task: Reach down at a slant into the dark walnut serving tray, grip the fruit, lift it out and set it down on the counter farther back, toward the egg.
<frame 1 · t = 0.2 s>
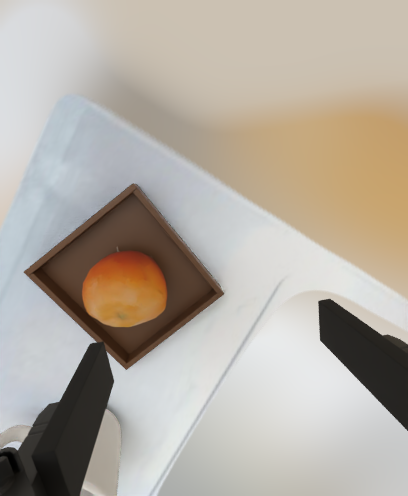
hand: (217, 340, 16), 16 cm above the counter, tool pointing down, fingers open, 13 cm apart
cup: (76, 420, 34), on the counter
fruit: (132, 277, 30), resting on tray
tray: (132, 276, 31), on the counter
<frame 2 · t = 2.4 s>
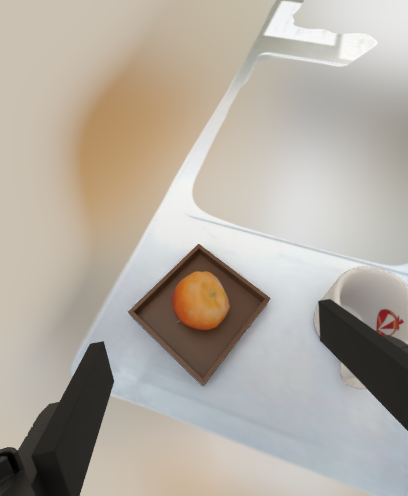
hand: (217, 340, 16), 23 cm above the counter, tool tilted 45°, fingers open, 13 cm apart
cup: (338, 339, 39), on the counter
fruit: (200, 309, 40), resting on tray
tray: (200, 309, 41), on the counter
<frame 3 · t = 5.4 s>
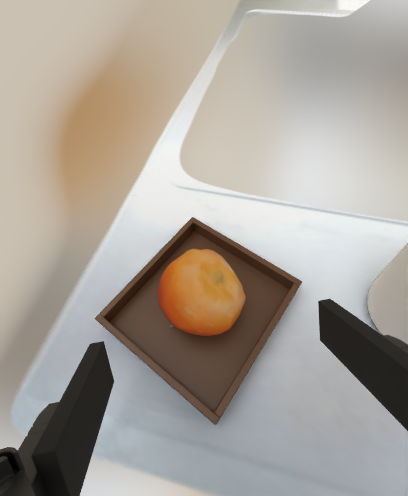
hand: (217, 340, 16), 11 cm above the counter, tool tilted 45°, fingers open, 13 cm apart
cup: (405, 333, 27), on the counter
fruit: (202, 306, 28), resting on tray
tray: (202, 307, 28), on the counter
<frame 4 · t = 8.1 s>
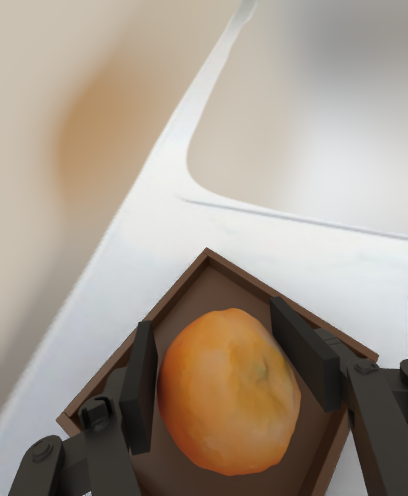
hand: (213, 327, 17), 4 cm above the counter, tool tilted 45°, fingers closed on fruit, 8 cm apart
fruit: (224, 388, 18), resting on tray, touching gripper
tray: (223, 388, 19), on the counter
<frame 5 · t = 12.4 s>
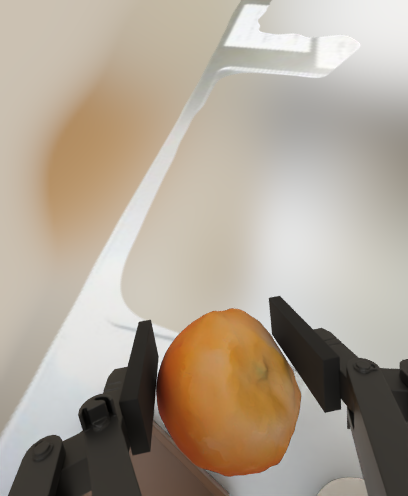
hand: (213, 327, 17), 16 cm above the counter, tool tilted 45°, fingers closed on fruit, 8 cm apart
fruit: (224, 388, 18), point 12 cm above the counter, touching gripper
when the fingers open (3 cm above the counter, at t = 16.6 s): fruit stays where it is, on the counter.
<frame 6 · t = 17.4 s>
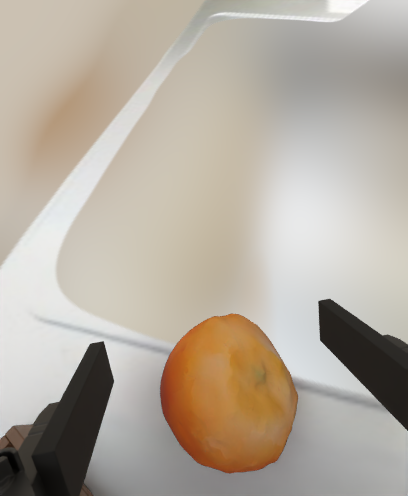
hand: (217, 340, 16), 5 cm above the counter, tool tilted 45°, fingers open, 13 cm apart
fruit: (224, 389, 19), on the counter
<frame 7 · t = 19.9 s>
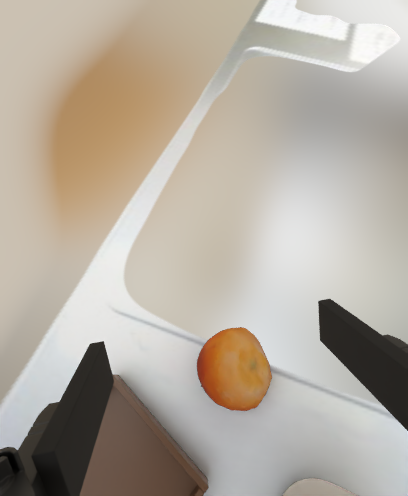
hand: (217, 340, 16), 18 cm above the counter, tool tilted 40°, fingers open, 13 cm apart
fruit: (229, 368, 32), on the counter
tray: (103, 490, 27), on the counter
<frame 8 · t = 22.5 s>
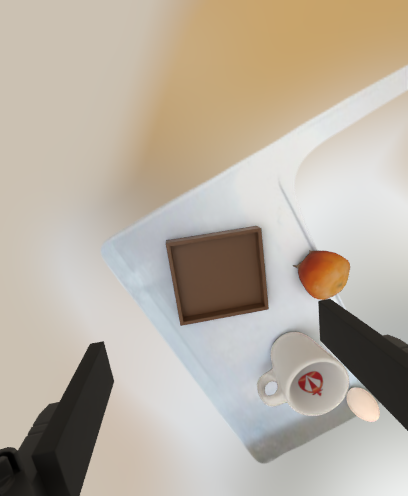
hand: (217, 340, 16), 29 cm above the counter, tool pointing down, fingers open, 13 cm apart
cup: (280, 353, 51), on the counter
fruit: (312, 267, 48), on the counter
egg: (350, 390, 55), on the counter
tray: (217, 273, 46), on the counter
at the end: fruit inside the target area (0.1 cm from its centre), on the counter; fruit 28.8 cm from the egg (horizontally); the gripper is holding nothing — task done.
